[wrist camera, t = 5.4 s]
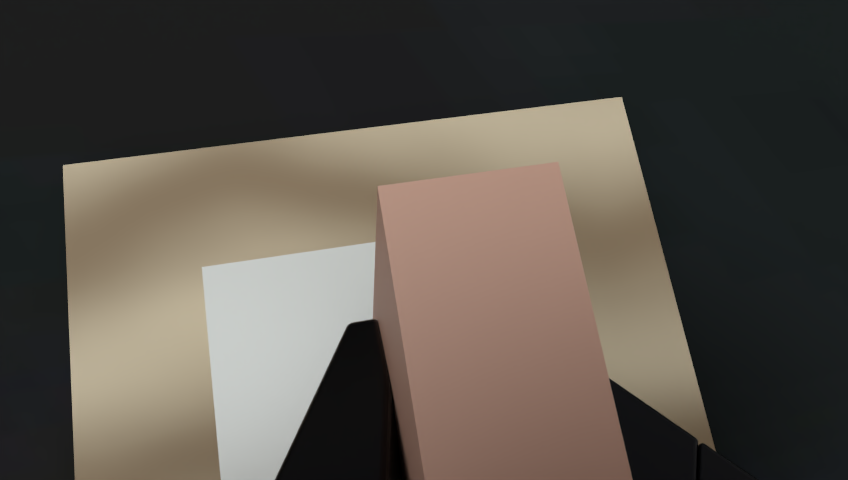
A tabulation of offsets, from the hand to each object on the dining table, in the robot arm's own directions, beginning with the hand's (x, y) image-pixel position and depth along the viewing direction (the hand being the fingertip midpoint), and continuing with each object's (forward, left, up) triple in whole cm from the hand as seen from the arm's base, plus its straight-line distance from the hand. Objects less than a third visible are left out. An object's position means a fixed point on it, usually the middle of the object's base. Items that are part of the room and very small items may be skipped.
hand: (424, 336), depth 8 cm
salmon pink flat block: (-1, +1, -4) cm, 4 cm away
